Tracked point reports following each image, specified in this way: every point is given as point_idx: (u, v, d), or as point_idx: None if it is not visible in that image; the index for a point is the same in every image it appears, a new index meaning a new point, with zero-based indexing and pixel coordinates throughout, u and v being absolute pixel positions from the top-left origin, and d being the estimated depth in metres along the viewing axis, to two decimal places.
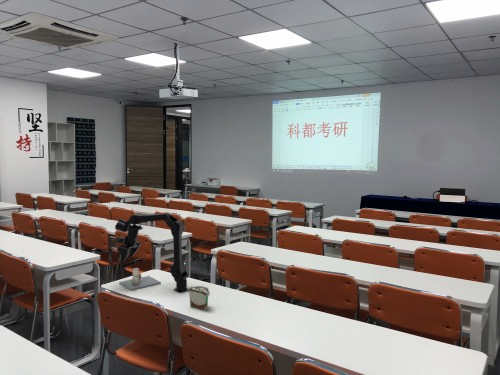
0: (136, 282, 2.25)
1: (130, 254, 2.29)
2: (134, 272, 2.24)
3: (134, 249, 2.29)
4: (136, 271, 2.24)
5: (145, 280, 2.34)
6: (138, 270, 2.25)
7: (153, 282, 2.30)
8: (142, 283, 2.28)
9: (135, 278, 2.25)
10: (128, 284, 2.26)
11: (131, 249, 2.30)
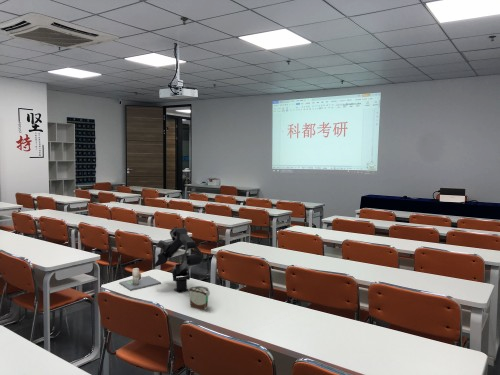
0: (136, 282, 2.25)
1: None
2: (134, 272, 2.24)
3: None
4: (136, 271, 2.24)
5: (145, 280, 2.34)
6: (138, 270, 2.25)
7: (153, 282, 2.30)
8: (142, 283, 2.28)
9: (135, 278, 2.25)
10: (128, 284, 2.26)
11: None
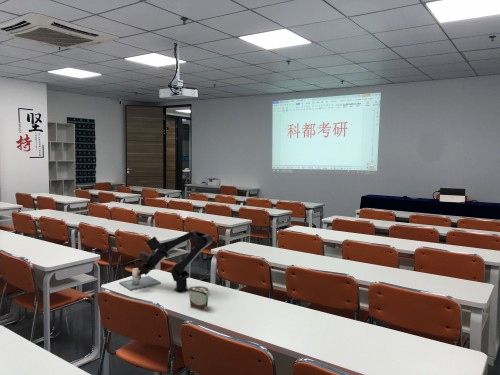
0: (136, 282, 2.25)
1: None
2: (134, 272, 2.24)
3: None
4: (136, 271, 2.24)
5: (145, 280, 2.34)
6: (138, 270, 2.25)
7: (153, 282, 2.30)
8: (142, 283, 2.28)
9: (135, 278, 2.25)
10: (128, 284, 2.26)
11: None
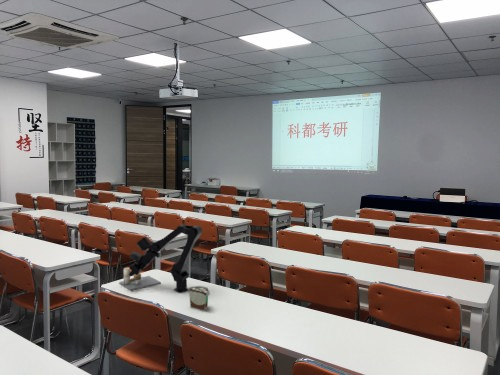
0: (125, 282, 2.25)
1: None
2: (124, 271, 2.25)
3: None
4: (125, 271, 2.25)
5: (145, 280, 2.34)
6: (128, 270, 2.25)
7: (153, 282, 2.30)
8: (142, 283, 2.28)
9: (124, 277, 2.25)
10: (128, 284, 2.26)
11: None
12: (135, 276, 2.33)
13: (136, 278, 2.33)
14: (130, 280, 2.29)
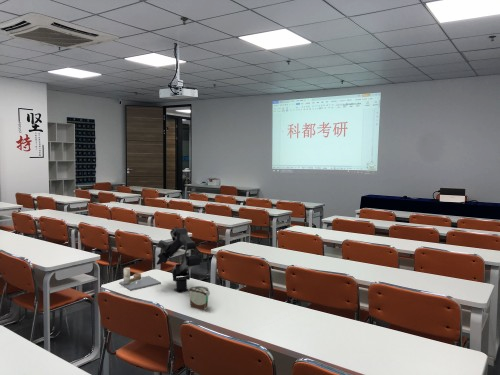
0: (125, 282, 2.25)
1: None
2: (124, 271, 2.25)
3: None
4: (125, 271, 2.25)
5: (145, 280, 2.34)
6: (128, 270, 2.25)
7: (153, 282, 2.30)
8: (142, 283, 2.28)
9: (124, 277, 2.25)
10: (128, 284, 2.26)
11: None
12: (135, 276, 2.33)
13: (136, 278, 2.33)
14: (130, 280, 2.29)
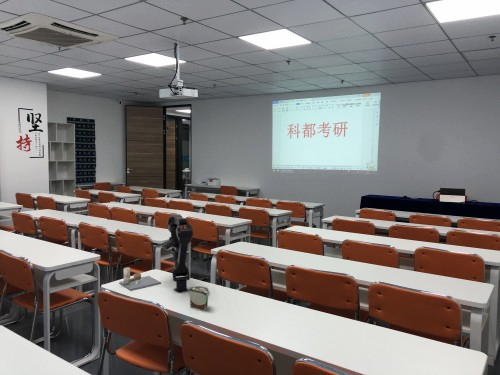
0: (125, 282, 2.25)
1: None
2: (124, 271, 2.25)
3: None
4: (125, 271, 2.25)
5: (145, 280, 2.34)
6: (128, 270, 2.25)
7: (153, 282, 2.30)
8: (142, 283, 2.28)
9: (124, 277, 2.25)
10: (128, 284, 2.26)
11: None
12: (135, 276, 2.33)
13: (136, 278, 2.33)
14: (130, 280, 2.29)
